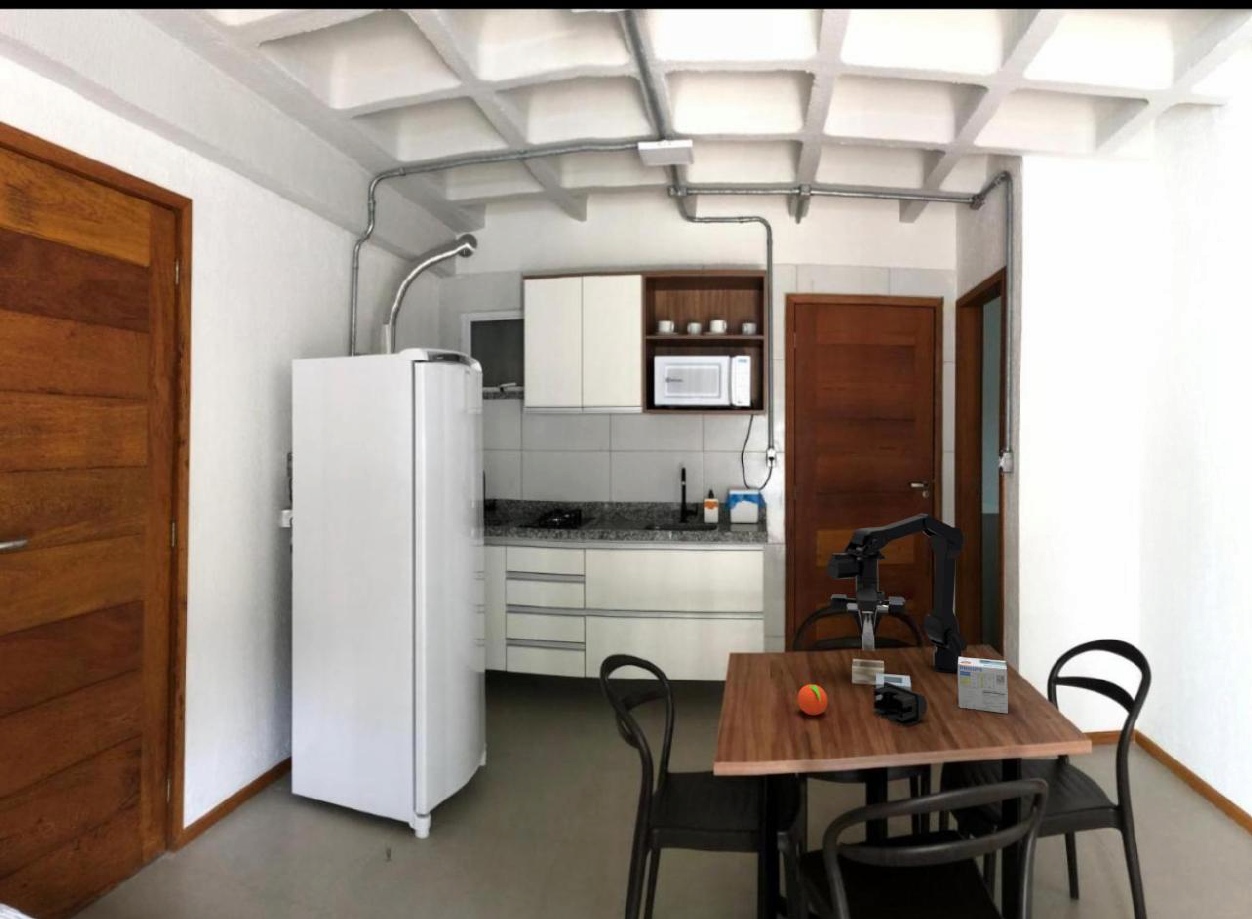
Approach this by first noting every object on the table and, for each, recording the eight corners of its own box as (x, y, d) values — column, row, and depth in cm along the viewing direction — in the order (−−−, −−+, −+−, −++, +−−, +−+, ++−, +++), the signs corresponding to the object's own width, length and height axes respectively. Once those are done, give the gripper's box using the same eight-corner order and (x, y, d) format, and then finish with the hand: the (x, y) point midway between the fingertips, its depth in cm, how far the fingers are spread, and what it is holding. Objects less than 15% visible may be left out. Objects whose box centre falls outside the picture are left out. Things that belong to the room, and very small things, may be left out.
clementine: (835, 720, 167) (834, 690, 167) (806, 723, 166) (806, 692, 166) (820, 707, 175) (819, 678, 175) (793, 710, 174) (792, 680, 173)
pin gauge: (874, 648, 194) (873, 611, 194) (874, 651, 192) (873, 614, 191) (862, 647, 195) (861, 611, 195) (862, 651, 193) (861, 613, 192)
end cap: (928, 721, 165) (927, 692, 165) (906, 728, 162) (905, 698, 162) (893, 707, 174) (892, 679, 174) (871, 713, 171) (871, 685, 170)
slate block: (909, 691, 184) (909, 676, 184) (911, 702, 176) (911, 686, 176) (876, 688, 187) (876, 673, 186) (876, 699, 179) (876, 683, 179)
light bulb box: (1007, 704, 174) (1006, 660, 174) (1008, 714, 168) (1008, 668, 167) (958, 698, 178) (957, 655, 178) (957, 708, 172) (957, 663, 172)
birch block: (884, 675, 196) (883, 661, 196) (884, 685, 189) (884, 670, 189) (853, 673, 199) (852, 658, 199) (852, 683, 191) (852, 668, 191)
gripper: (828, 581, 188) (830, 641, 189) (905, 584, 182) (906, 645, 183) (831, 573, 199) (832, 629, 199) (904, 575, 193) (904, 634, 193)
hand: (867, 634), depth 193 cm, fingers closed on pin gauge, 3 cm apart
